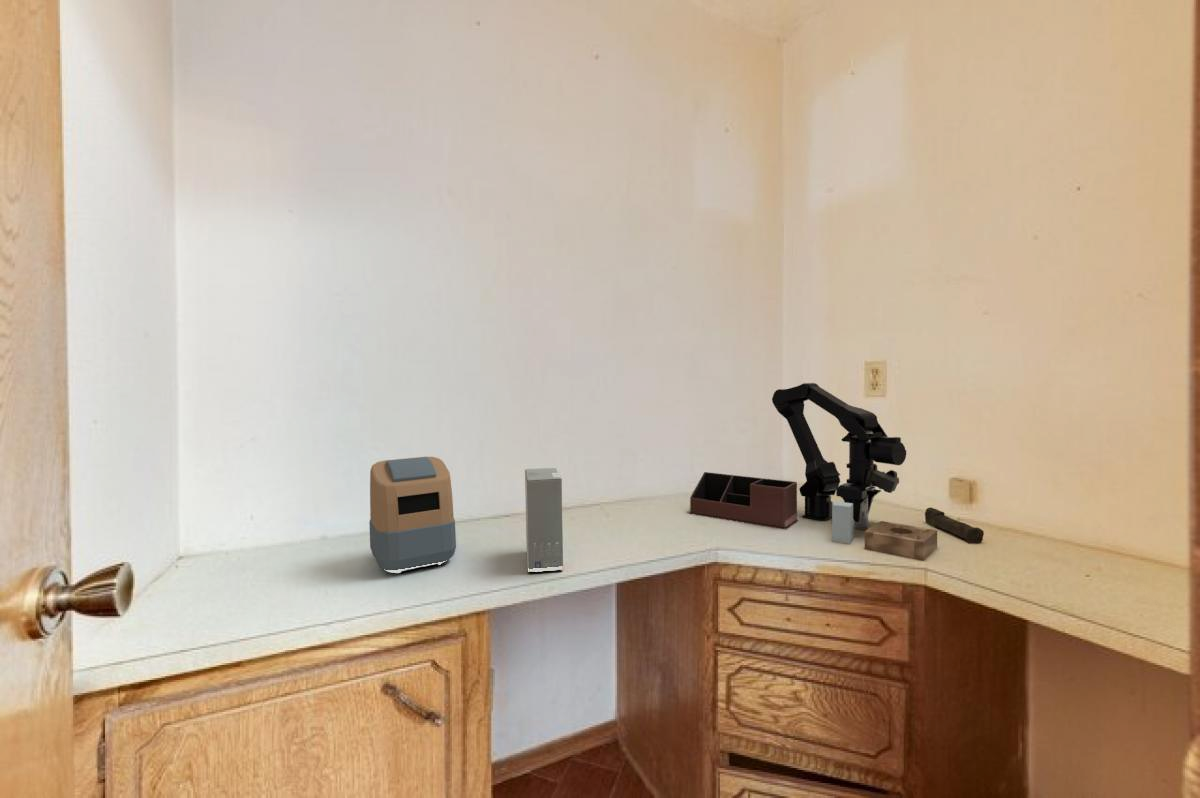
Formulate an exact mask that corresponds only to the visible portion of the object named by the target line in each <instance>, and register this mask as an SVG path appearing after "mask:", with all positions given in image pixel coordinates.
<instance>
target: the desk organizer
mask: <svg viewBox="0 0 1200 798" xmlns="http://www.w3.org/2000/svg"><path fill="white" fill-rule="evenodd" d="M689 502H690V505H689V506H690V507H689V509H690V510H689V511H688V513H689V514H690V515H693V514H695V515H694V516H700V515H701V516H700V517H706V516H707V518H712V517H713V518H712V519H718V518H719V519H720V520H724V519H726V520H725V521H730V520H732V521H733V522H736V521H737V522H738V523H742V522H744V524H749V525H755V526H761V527H768V528H772V529H773V528H774V529H781V530H789V529H790V528H791V527H792V526H794V525H795V524H797V523H798V522H800V520H799V519H798V482H797V481H791V480H790V481H789V480H781V479H780V480H779V479H772V478H762V477H753V476H743V475H737V474H736V475H734V474H726V473H725V474H724V473H719V472H718V473H717V472H706V471H704V472H703V474H702V475H701V477H700V480H699V481H698V483H697V484H696V486H695V488H694V490H693V491H692V493H691V495H690V497H689ZM719 519H718V520H719Z"/></svg>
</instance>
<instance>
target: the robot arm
mask: <svg viewBox="0 0 1200 798" xmlns="http://www.w3.org/2000/svg"><path fill="white" fill-rule="evenodd" d="M771 401H772V405H773V406H774V407H775V409H776V411H777V412H778V413H779V414H780V415H781V416H782V417H783V418H785V419H786V421H787V423H788V425H789V428H790V430H791V432H792V433H791V434H792V435H793V437H794V439H795V442H796V444H797V446H798V449H799V450H800V453H801V456H802V457H803V460H804V462H805V471H804V472H805V473H804V476H805V480H806V481H805V482H804V483H803V484H802V485H801V486H800V487H799V488H798V491H799V492H800V496H801V497H804V514H802V516H801V517H802V518H806V519H807V518H808V519H813V520H818V521H827V520H830V519H832V505H833V504H834V503H833V501H832V496H835V494H836V497H840V498H841V499H842V500H843V502H845V503H853V522H854V521H855V522H859V521H860V516H861V509H862V503H863V502H864V501H865V500H866V499H868V515H869V514H870V510H871V507H872V503H873V500H874V498H875V497H876V496H877V495H878V494H879V493H881V492H882V490H883V491H884V492H886V493H890V494H892V492H895V491H896V489H897V486H898V484H900V478H899V477H898V471H895V470H893V469H890V470H888V471H887V472H885V471H881V470H878V465H877V463H879V464H886V465H892V466H893V465H894V466H901V465H902V464H904V462H905V460H906V458H907V450H906V447H905V445H904V443H903V442H902V438H901V437H899V436H892V437H891V436H888V435H887V434H886V431H885V430H884V429H883V428H882V426H881V424H880V423H879V421H878V417H877V415H876V414H875V413H874V412H871V411H869V410H866V409H864V408H861V407H856V406H854V405H853V406H852V405H850V404H848V403H846V402H845V401H843V400H842V399H840V398H838V397H836V396H835V395H833V394H832V393H830V392H829V391H827V390H825V389H824V388H822V387H821V386H819V384H817V383H815V382H807V383H805V382H804V383H802V384H799V385H797V386H794V387H793V386H792V387H789V388H782V389H776V390H775V391H774V393H773V395H772V398H771ZM806 401H810V402H812V403H813V404H815V405H816V406H818V407H819V408H821V410H824V411H825V412H827V413H829V414H830V415H832V416H833V417H835V419H837V420H838V422H839V425H840V426H841V427H842V428H843V429H844V430H846V431H847V432H848V433H847V434H846V435H845V436H844V437H842V438H841V441H842V442H843V443H844V442H845V443H846V442H847V443H849V444H848V447H849V449H848V450H849V451H848V459H849V461H848V463H846V468H847V469H849V470H848V478H847V479H846V483H841V479H840V476H841V473H840V472H839V471H838V470H837V467H836V466H837V465H836V463H835V462H834V461H829V462H828V461H827V460H826V459H825V458H824V457H823V454H822V452H821V450H820V448H819V445H818V444H817V441H816V439H815V436H814V435H813V432H812V430H811V428H810V425H809V423H808V421H807V419H806V417H805V414H804V410H805V402H806ZM874 462H875V463H874ZM840 483H841V484H840ZM876 488H878V489H876ZM866 495H868V497H866Z"/></svg>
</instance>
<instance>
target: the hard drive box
mask: <svg viewBox="0 0 1200 798" xmlns="http://www.w3.org/2000/svg"><path fill="white" fill-rule="evenodd" d="M562 480H563V478H562V477H561V475H560V472H559V471H558V470H557V468H556V467H546V468H545V467H544V468H543V467H541V468H540V467H539V468H525V470H524V487H525V489H524V490H525V492H524V495H525V531H526V532H525V536H526V537H525V538H526V542H525V543H526V557H527V558H526V563H527V569H528V568H529V569H533V568H547V567H559V566H563V567H564V546H563V545H564V544H563V543H564V537H563V536H564V535H563V494H562V493H563V491H562V490H563V487H562V486H563V483H562V482H563V481H562Z"/></svg>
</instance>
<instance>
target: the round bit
mask: <svg viewBox="0 0 1200 798" xmlns="http://www.w3.org/2000/svg"><path fill="white" fill-rule="evenodd" d="M866 497H868V495H866ZM853 529H854V530H856V531H861V532H862V531H864V532H865V531H866V530H868V529H869V514H868V499H866V500H865V501H864V502H863V503H862V509H861V516H860V521H859V522H855V521H854V520H853Z"/></svg>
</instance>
